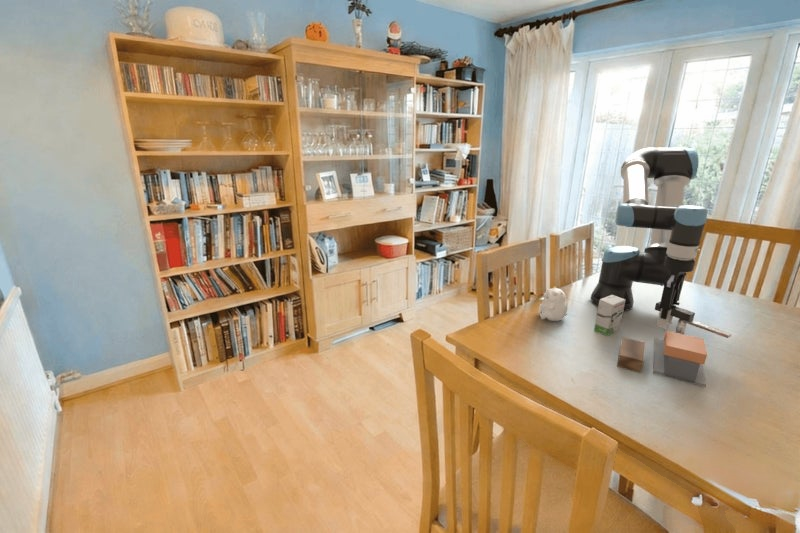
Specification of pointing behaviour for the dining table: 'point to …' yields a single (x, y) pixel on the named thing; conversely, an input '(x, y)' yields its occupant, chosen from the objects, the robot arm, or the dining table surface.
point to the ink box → (609, 315)
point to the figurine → (553, 305)
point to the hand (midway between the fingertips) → (664, 324)
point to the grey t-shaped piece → (690, 321)
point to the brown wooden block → (631, 354)
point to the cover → (685, 347)
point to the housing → (677, 366)
